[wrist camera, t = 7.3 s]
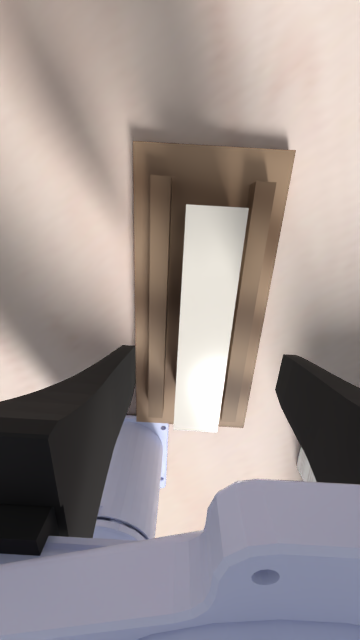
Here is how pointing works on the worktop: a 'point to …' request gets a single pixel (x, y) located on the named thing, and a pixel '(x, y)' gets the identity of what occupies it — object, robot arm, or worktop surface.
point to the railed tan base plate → (167, 260)
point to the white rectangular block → (207, 312)
